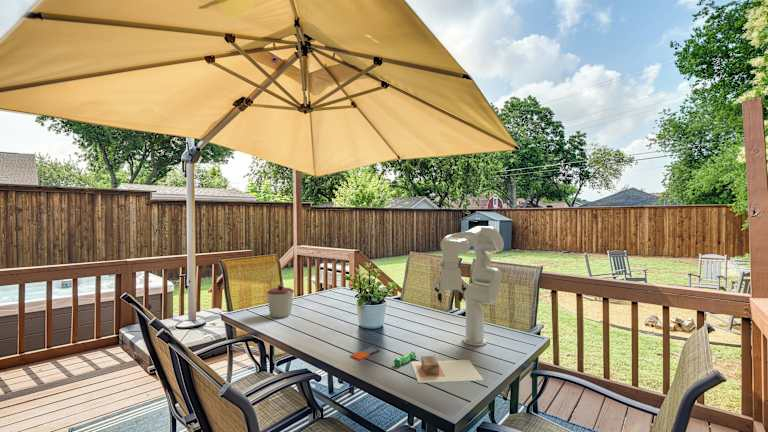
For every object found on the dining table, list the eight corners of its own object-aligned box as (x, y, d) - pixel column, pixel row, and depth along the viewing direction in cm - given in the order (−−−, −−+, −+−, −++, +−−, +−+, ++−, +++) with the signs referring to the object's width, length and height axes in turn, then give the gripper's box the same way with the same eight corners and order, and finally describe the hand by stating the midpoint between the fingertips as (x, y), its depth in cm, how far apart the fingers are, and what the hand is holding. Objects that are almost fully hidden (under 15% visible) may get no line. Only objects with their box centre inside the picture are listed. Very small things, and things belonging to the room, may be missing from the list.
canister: (273, 311, 246) (273, 281, 245) (298, 312, 243) (298, 282, 243) (261, 319, 228) (261, 287, 227) (287, 320, 225) (287, 288, 225)
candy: (409, 355, 170) (412, 349, 169) (413, 360, 168) (417, 355, 167) (392, 363, 162) (396, 357, 160) (397, 369, 160) (401, 363, 158)
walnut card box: (425, 375, 150) (425, 365, 150) (421, 366, 159) (421, 356, 159) (439, 375, 151) (439, 364, 150) (434, 365, 160) (434, 356, 159)
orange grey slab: (349, 355, 170) (370, 346, 181) (349, 358, 170) (370, 349, 181) (359, 359, 166) (380, 349, 177) (359, 361, 166) (380, 352, 177)
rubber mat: (410, 362, 164) (410, 361, 164) (468, 360, 167) (468, 359, 167) (418, 383, 144) (418, 382, 144) (484, 380, 147) (484, 379, 147)
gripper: (434, 266, 162) (434, 303, 162) (470, 266, 163) (470, 303, 163) (430, 264, 169) (430, 299, 169) (465, 264, 171) (465, 298, 171)
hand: (450, 301), depth 166 cm, fingers open, 9 cm apart
